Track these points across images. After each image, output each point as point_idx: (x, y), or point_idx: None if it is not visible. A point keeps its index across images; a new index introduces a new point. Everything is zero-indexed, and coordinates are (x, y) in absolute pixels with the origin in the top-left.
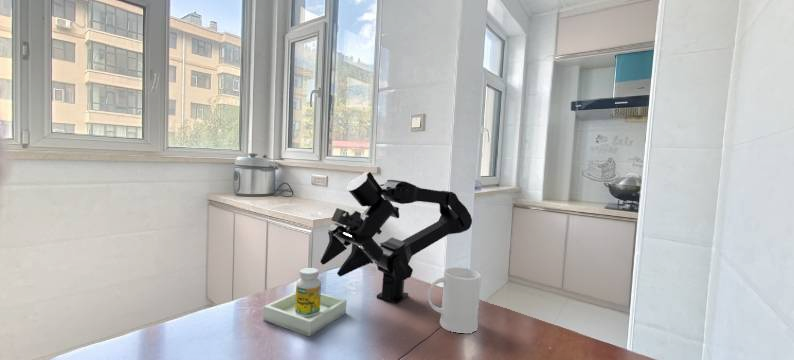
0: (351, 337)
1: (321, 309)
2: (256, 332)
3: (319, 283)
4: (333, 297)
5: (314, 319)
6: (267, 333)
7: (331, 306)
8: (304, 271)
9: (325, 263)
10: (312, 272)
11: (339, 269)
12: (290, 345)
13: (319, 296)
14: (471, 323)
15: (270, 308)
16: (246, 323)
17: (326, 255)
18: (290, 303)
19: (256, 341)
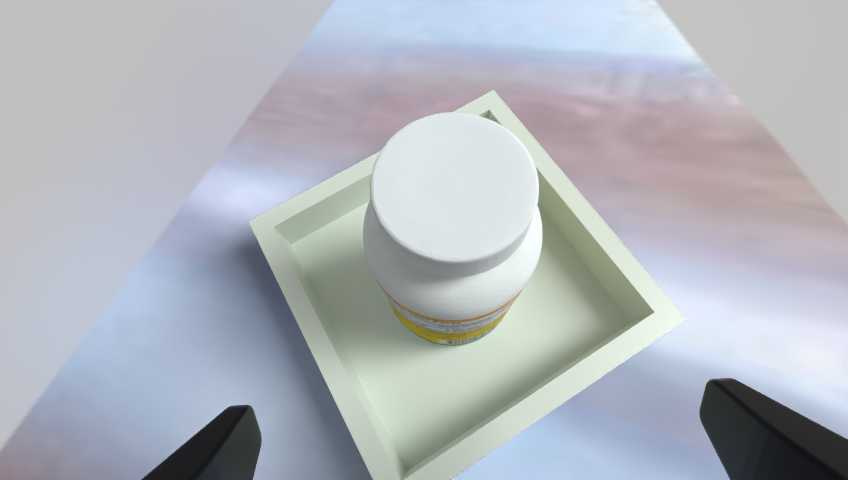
0: (169, 406)
1: (458, 364)
2: (401, 98)
3: (384, 284)
4: (470, 448)
5: (260, 246)
6: (376, 126)
7: (467, 431)
8: (443, 139)
9: (714, 448)
10: (390, 191)
11: (221, 437)
12: (258, 174)
13: (398, 311)
14: None
15: (459, 108)
16: (483, 78)
17: (799, 475)
18: (565, 231)
19: (341, 91)
